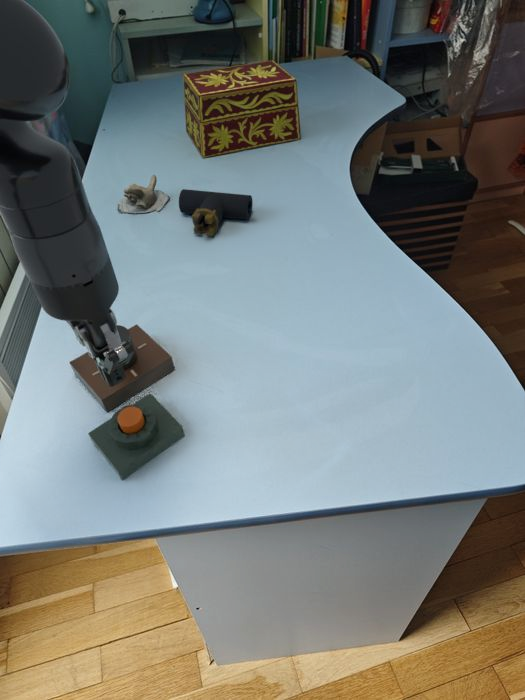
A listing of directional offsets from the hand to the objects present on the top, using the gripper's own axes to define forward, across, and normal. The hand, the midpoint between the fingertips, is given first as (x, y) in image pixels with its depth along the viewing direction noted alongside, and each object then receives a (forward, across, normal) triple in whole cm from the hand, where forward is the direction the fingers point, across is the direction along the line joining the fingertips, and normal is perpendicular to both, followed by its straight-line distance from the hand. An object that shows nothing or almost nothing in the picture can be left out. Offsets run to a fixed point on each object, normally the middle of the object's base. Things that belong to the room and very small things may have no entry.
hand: (114, 378), depth 58 cm
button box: (+13, 0, 0) cm, 13 cm away
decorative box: (+13, -65, +74) cm, 99 cm away
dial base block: (+13, -12, +5) cm, 18 cm away
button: (+9, 0, 0) cm, 9 cm away
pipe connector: (+13, -36, +41) cm, 56 cm away
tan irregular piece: (+13, -54, +35) cm, 66 cm away
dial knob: (+10, -12, +5) cm, 16 cm away
